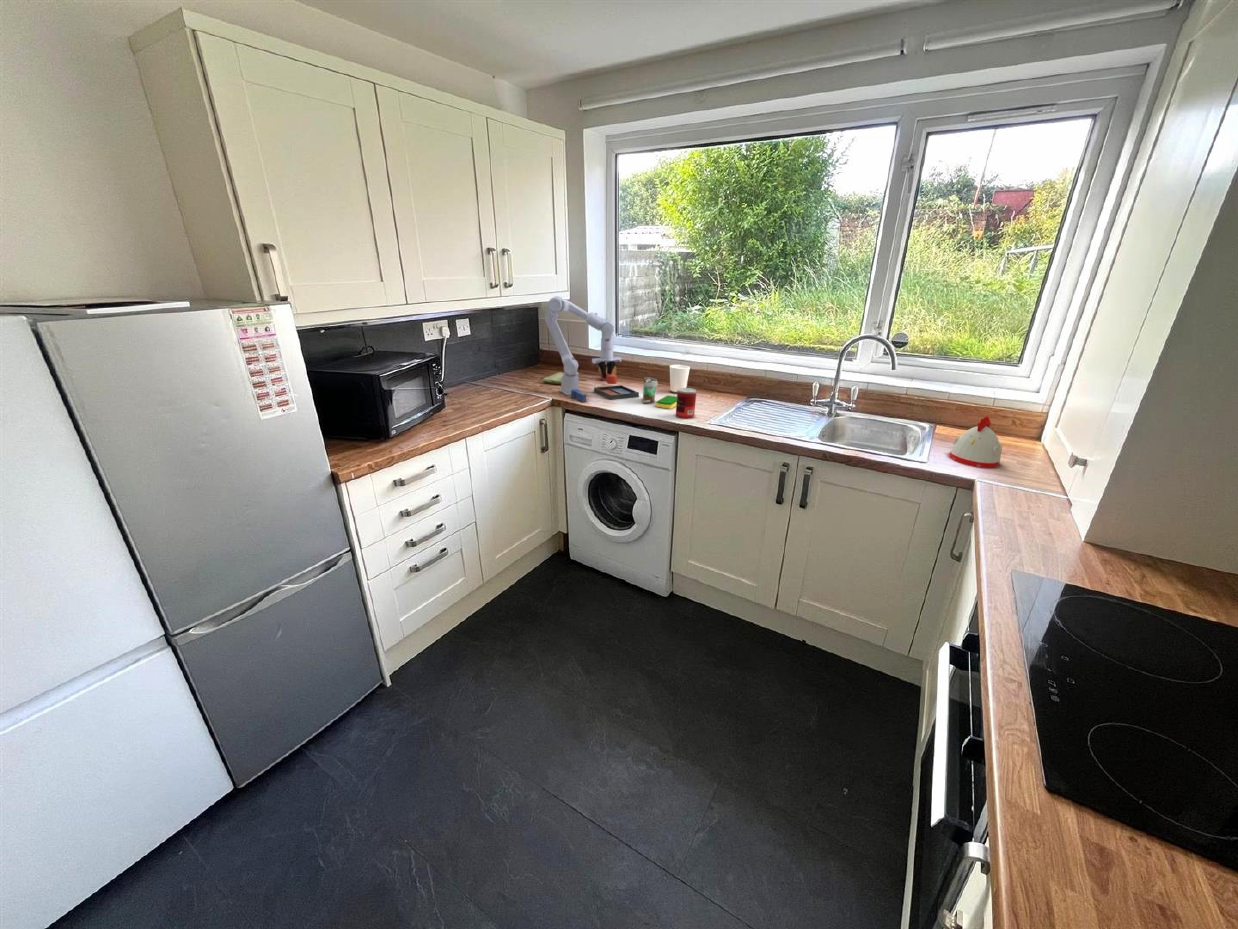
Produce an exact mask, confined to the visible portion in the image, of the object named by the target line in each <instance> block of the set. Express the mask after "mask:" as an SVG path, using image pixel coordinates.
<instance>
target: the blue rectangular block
mask: <svg viewBox="0 0 1238 929" xmlns="http://www.w3.org/2000/svg"><path fill="white" fill-rule="evenodd" d="M570 398H571V399H575V400H577V401H579V402H580V403H587V394H586V393H584V392H582V389H580V388H579V389H573V390H571V395H570Z"/></svg>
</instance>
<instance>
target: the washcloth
mask: <svg viewBox="0 0 1238 929" xmlns="http://www.w3.org/2000/svg"><path fill="white" fill-rule="evenodd" d="M563 374H564V372H557V373H554V374H552V375H549V376H546V377H545V378H543V379H542V382H543V383H545V384H550V385H551V384H552V385H559V386H561V377H562V375H563Z"/></svg>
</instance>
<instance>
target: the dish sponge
mask: <svg viewBox="0 0 1238 929" xmlns="http://www.w3.org/2000/svg"><path fill="white" fill-rule="evenodd" d="M676 404H677V396H676V395H666V396H664V397H662V398H659V400H657V401H656V403H655V407H656V408H663V409H669V410H672V409H673V408H676Z"/></svg>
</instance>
